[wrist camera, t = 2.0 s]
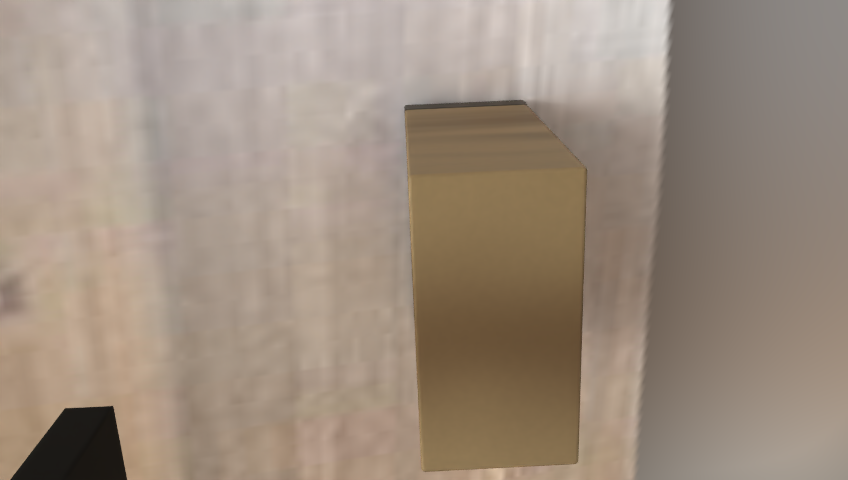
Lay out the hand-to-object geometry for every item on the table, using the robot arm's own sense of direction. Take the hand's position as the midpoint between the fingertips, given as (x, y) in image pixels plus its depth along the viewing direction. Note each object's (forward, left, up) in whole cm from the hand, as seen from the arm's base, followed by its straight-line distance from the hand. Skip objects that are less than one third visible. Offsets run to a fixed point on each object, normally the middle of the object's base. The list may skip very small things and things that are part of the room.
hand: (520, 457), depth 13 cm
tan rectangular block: (0, 0, -13) cm, 13 cm away
